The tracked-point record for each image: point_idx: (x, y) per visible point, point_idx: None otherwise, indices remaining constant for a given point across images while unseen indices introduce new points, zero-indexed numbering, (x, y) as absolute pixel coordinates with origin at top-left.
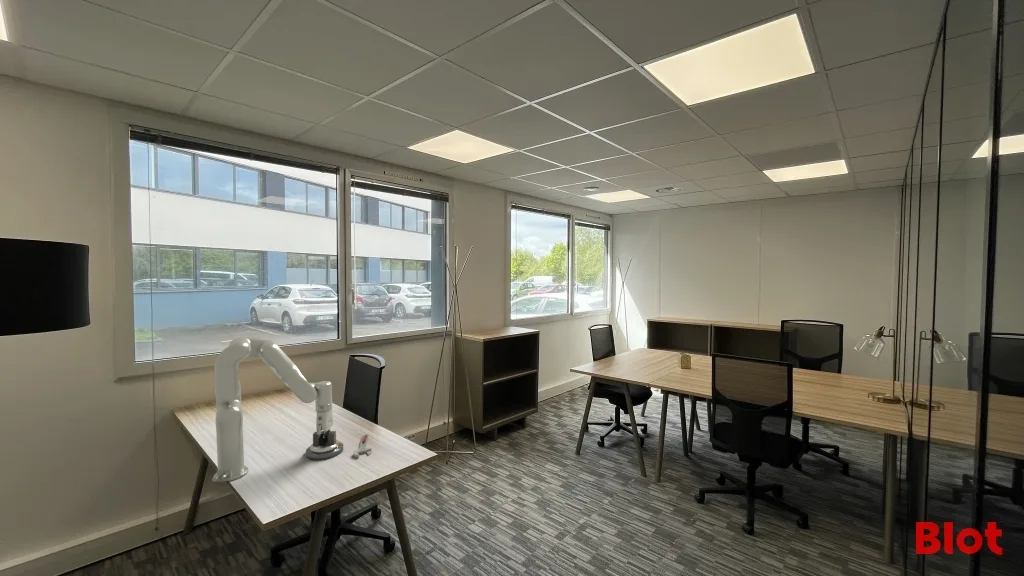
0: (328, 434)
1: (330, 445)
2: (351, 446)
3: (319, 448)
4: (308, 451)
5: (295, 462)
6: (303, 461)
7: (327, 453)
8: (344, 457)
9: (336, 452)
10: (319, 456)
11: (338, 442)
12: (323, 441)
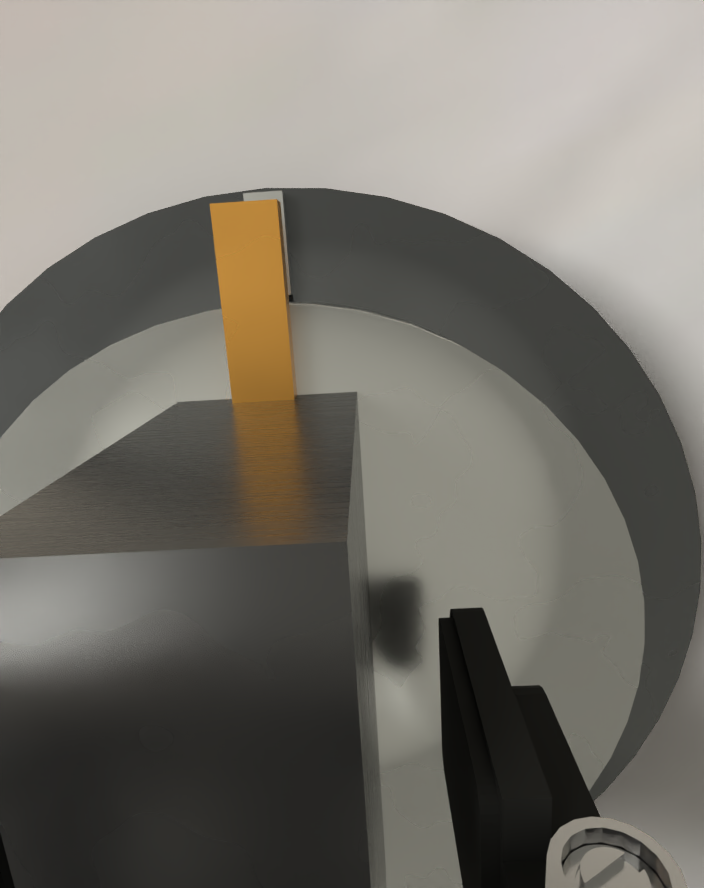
0: (365, 790)
1: (364, 488)
2: (12, 77)
3: None
4: None
5: (675, 861)
6: (659, 765)
7: (590, 438)
8: (600, 14)
9: (515, 249)
10: (692, 557)
11: (161, 336)
12: (535, 732)
